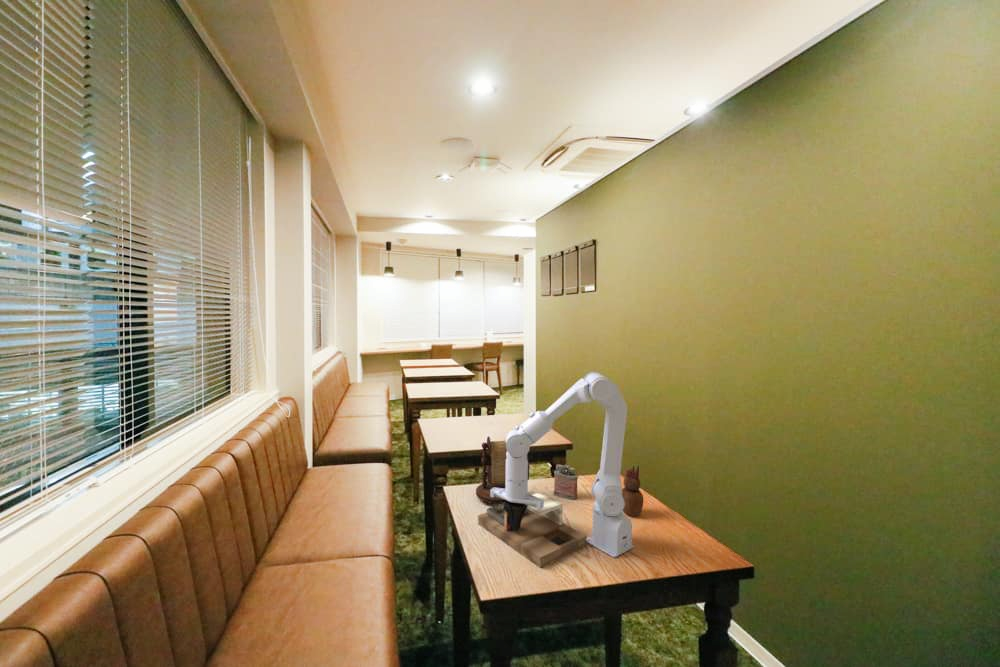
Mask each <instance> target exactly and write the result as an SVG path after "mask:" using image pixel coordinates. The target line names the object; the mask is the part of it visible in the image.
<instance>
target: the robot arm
mask: <svg viewBox="0 0 1000 667" xmlns="http://www.w3.org/2000/svg"><path fill="white" fill-rule="evenodd" d="M591 399H593V400H594V401H595V402H596V403H598V404H600V405H601V407H603V408H604V410H605V419H604V428H603V438H602V445H601V446H602V447H601V453H600V454H601V457H600V463H599V465H600V467H599V470H598V471H597V473H596V478H595V480H594V482H593V484H592V485H591V493H592V495H593V497H594V498H595V501H594V503H593V504H592V535H591V536H588V537H586V544H587V543H588V544H590V545H591V546H593V548H596V549H598V550H600V551H602V552H603V553H605V554H607V555H609V556H610V557H612V558H616V557H618V556H620V555H622V554H624V553H625V552H627V551H629V550H631V549H633V548H634V545H633V543H632V540H633V537H632V536H633V523H632V521H631V519H630V518H629V517H628V516H626V514H625V513H624V512H623V509H624V505H625V502H624V498H623V496H622V489H623V483H622V479H621V470H622V462H623V452H624V442H625V435H626V434H625V433H626V426H627V425H626V424H627V423H626V422H627V415H628V406H627V403H626V401H625V399H624V397H623V395H622V393H621V391H620V388H619V386H618V385H617V384H616V383H615V382H614V381H613V380H611V379H610V378H609V377H606V376H605V375H603V374H602V373H601V372H598V371H591V372H589V373H587V374H586V375H585V376H584V378H583V377H581V378H580V379H579V380H577V381H576V382H575V383H574V384H573V385H572V386H571V387H570V388H568V389H567V390H566V392H564V393H563V394H562V395H561V396H560V397H559V398H557V399H556V401H554V402H553V403H552V404H551V405H550V406H549V407H547V409H545V410H537V411H536V412H533V411H532V412H531V413H530V414H529V415H528V416H529V417H528V419H526V420H525V421H523V423H521V424H520V425H519V424H517V425H516V426H515V429H512V430H510V431H509V432H508V433H507V434H506V437H505V440H504V441H505V442H506V449H507V452H506V458H507V459H506V483H505V489H503V488H496V487H494V488H492V489H491V490H490V497H498V498H502V499H505V500H506V503H505V504H504V509H505V510H506V512H507V514H508V517H509V519H510V523H511V527H512V531H516V532H517V531H518V530H519V529H520V525H521V521H522V517H523V515H524V512H525V510H526V508H527V506H532V507H536V508H537V509H538V510H541V509H542V508H543V507H544V500H543V499H540V498H537V497H535V496H533V494H531V493H529V492H528V489H529V488H528V486H529V485H528V484H529V480H528V478H529V476H528V475H529V459H528V453H529V452H530V447H531V446H532V445H534V444H535V443H537V442H538V441H539V440H540V439H541V438H543V437H544V436H545V435H546V434H547V433H549V432H550V431H551V430H553V424H554V422H555V420H557V419H558V418H560V417H562V415H563V414H565V413H566V412H567V411H569V410H570V409H571V408H573V407H575V405H578V404H579V403H580V404H581V403H583V404H584V403H587V404H588V403H592V401H591Z"/></svg>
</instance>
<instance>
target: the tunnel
mask: <svg viewBox="0 0 1000 667" xmlns="http://www.w3.org/2000/svg"><path fill="white" fill-rule="evenodd" d="M532 495H533V496H535V497H537V498H540V499H543V500H544V507H543V508H542V509H541V510H538V509H537V508H536V507H532V506H527V509H529V510H530V513H527V514H524V515H523V517H522V521H521V525H520V529H519V530H518V531H517V532H516V531H512V528H511V529H508V530H506V529H504V525H503V524H501V523H500V522H498V521H497V520H495V519H494V518H492V517H491V516H489V515H488V514H487V511H485V512H484V513H481V514H478V515H477V525H479V526H480V527H482V528H484V529H485V530H486V531H487V532H489V533H490V534H491V535H493V536H494V537H496V538H497V539H499V540H500V541H501V542H503V543H504V544H505V545H507V546H509V547H510V548H511V549H513V550H514V551H516V552H517V553H518V554H520V555H521V556H522V557H524V558H525V559H527V560H528V561H529V562H531V563H533V564H534V565H536V567H538V568H539V569H541V568H543V567H545V566H547V565H549V564H551V563H553V562H555V561H557V560H559V559H561V558H563V557H565V556H567V555H570V554H572V553H573V552H576V551H577V550H579V549H582V548H584V547H586V546H587V542H586V539H587V535H586V534H584V533H582V532H580V531H578V530H576V529H575V528H573V527H571V526H569V525H568V524H565V523H564V522H563V512H564V511H563V508H564V505H563V503H562V502H561V501H558V500H557V499H554V498H552V497H550V496H549V495H546V494H544V493H542V492H540V491H539V492H536V493H533V494H532ZM497 513H499V514H500V515H504V514H505V513H507V512H506V510H502V511H499V512H497Z"/></svg>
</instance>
